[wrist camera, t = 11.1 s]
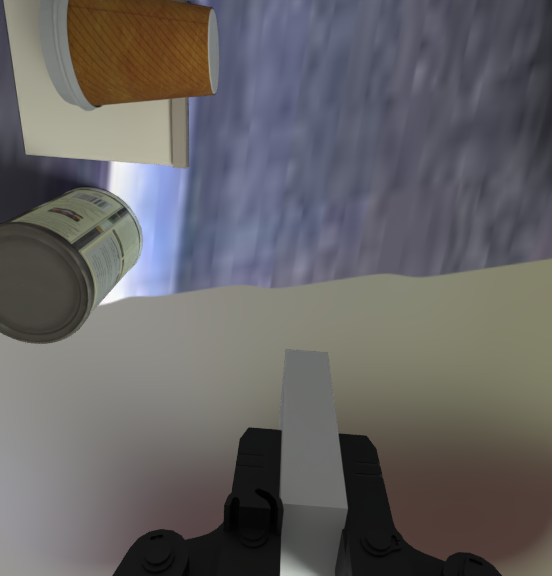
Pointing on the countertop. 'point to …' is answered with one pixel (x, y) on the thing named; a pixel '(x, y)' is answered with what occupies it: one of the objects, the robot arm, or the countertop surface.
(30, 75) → the cream flat rectangular board
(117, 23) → the disposable coffee cup
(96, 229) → the coffee can
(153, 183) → the countertop surface
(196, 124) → the countertop surface
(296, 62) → the countertop surface
